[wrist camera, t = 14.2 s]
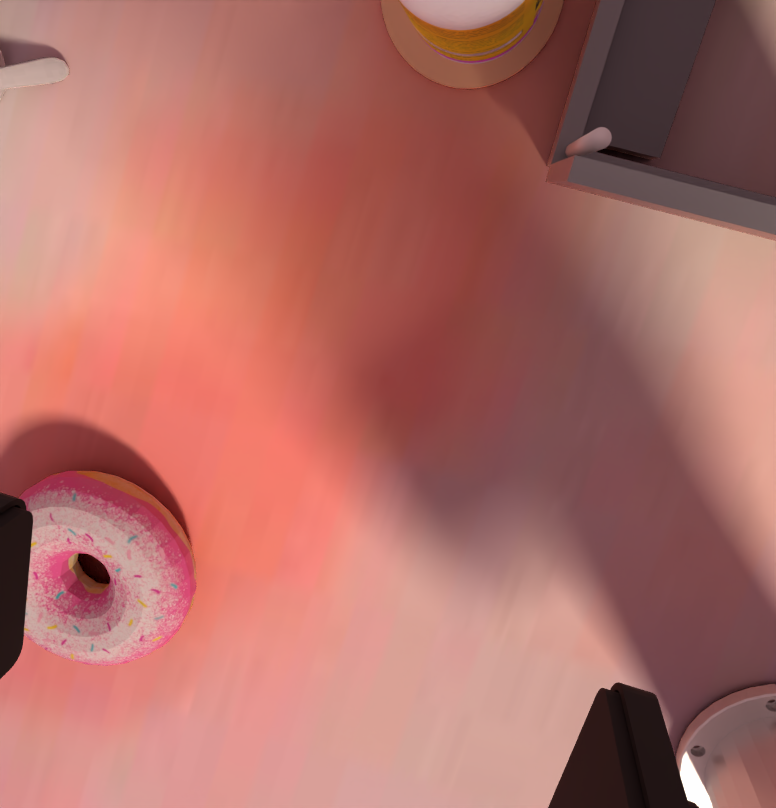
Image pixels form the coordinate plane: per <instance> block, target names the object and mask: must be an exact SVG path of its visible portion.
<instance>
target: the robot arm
mask: <svg viewBox="0 0 776 808" xmlns="http://www.w3.org/2000/svg"><path fill="white" fill-rule="evenodd" d="M32 529H33V515H32V513H31V512H30V511H27V510H26V504H25V502H24V501H23V500H22V499H19V498H16V497H13V496H10V495H6V494H3V493H0V679H1V678H2V677H3V676H4V675H5V674H6V673H7V672H8V671H9V670H10V669H11V668H12V666H13V665H14V664H15V662H16V661H17V659H18V657H19V655H20V653H21V650H22V646H23V637H24V625H25V613H26V601H27V589H28V577H29V565H30V553H31V541H32ZM548 808H776V684H768V685H762V686H756V687H750V688H747V689H744V690H741V691H738V692H735V693H732V694H730V695H728V696H726V697H724V698H722V699H720V700H718V701H716V702H714V703H713V704H711V705H710V706H709V707H708V708H706V709H705V710H704V711H702V712H701V713H700V714H699V715H698V716H697V717H696V718H695V719H694V720H693V721H692V723H691V724H690V725H689V726H688V728H687V729H686V731H685V733H684V735H683V736H682V738H681V740H680V743H679V747H678V750H677V754H676V759H675V756H674V752H673V749H672V746H671V742H670V739H669V736H668V732H667V729H666V725H665V722H664V719H663V715H662V712H661V709H660V705H659V702H658V699H657V697H656V695H655V694H653V693H651V692H648V691H644V690H641V689H638V688H635V687H631V686H628V685H625V684H622V683H615V684H614V685H613V686H612V688H611V690H608V689H604V688H601V689H600V690H599V691H598V693H597V695H596V697H595V699H594V702H593V704H592V706H591V709H590V711H589V713H588V716H587V718H586V720H585V723H584V725H583V727H582V730H581V732H580V734H579V737H578V739H577V741H576V744H575V746H574V748H573V751H572V753H571V755H570V758H569V760H568V763H567V765H566V767H565V770H564V772H563V774H562V777H561V779H560V781H559V784H558V786H557V788H556V791H555V793H554V795H553V798H552V800H551V802H550V805H549V807H548Z"/></svg>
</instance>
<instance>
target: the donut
mask: <svg viewBox="0 0 776 808" xmlns="http://www.w3.org/2000/svg"><path fill="white" fill-rule="evenodd" d="M18 498H19V499H22V500H23V501H24V502H25V504H26V510H27V511H30V512H31V513H32V515H33V529H32V541H31V553H30V565H29V577H28V589H27V601H26V613H25V625H24V635H25V636H27V637H28V638H29V639H30V640H31V641H33V642H34V643H36V644H38V645H39V646H41V647H42V648H44V649H45V650H47V651H49V652H51V653H54V654H56V655H58V656H61V657H63V658H65V659H68V660H72V661H76V662H80V663H84V664H91V665H103V666H108V665H116V664H124V663H127V662H130V661H133V660H136V659H138V658H141V657H144V656H146V655H149V654H151V653H153V652H154V651H156V650H157V649H159V648H160V647H162V646H163V645H165V644H166V643H167V642H168V641H169V640H170V639H171V638H172V637H173V636H174V635H175V633H176V632H177V631H178V630H179V629H180V627H181V625H182V624H183V622H184V621H185V619H186V617H187V615H188V613H189V611H190V609H191V607H192V605H193V600H194V596H195V591H196V567H195V559H194V556H193V552H192V548H191V544H190V542H189V540H188V538H187V536H186V534H185V533H184V531H183V529H182V527H181V525H180V524H179V523H178V522H177V520H176V519H175V518H174V516H173V515H172V514H171V512H170V511H169V510H168V509H167V508H166V507H165V506H163V505H162V504H161V503H160V502H159V501H158V500H157V499H156V498H155V497H154V496H152V495H151V494H149V493H148V492H146V491H145V490H143V489H142V488H140V487H139V486H137V485H136V484H134V483H131V482H129V481H127V480H125V479H123V478H120V477H118V476H115V475H111V474H107V473H103V472H99V471H66V472H62V473H57V474H53V475H50V476H48V477H47V478H45V479H43V480H42V481H40V482H38V483H37V484H35V485H33V486H32V487H30V488H28V489H27V490H25V491H24V492H23V493H22V494H21V495H20V496H19V497H18ZM78 553H84V554H89V555H92V556H93V557H95V558H96V559H98V560H99V561H100V562H101V563H102V564H103V565H105V567H106V570H107V572H108V574H109V576H110V584H103V583H97V582H96V581H94V580H93V579H91V578H90V577H89V576H88V575H87V574H85V573H84V571H83V570H82V568H81V566H80V564H79V562H78V560H77V559H78Z"/></svg>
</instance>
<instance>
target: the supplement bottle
mask: <svg viewBox="0 0 776 808" xmlns="http://www.w3.org/2000/svg"><path fill="white" fill-rule="evenodd" d="M398 1H399V2H400V4H401V5H402V7H403V9H404V10H405V12H406V14H407V16H408V17H409V19H410V21H411V23H412V24H413V26H414V28H415V29H416V31H417V32H418V34H419V36H420V37H421V38H422V39H423V41H424V42H425V43H426V44H427V45H428V46H429V47H430V48H431V49H432V50H433V51H435V52H436V53H437V54H439V55H440V56H442V57H444V58H446V59H448V60H451V61H454V62H458V63H463V64H480V63H486V62H489V61H493V60H495V59H498V58H500V57H502V56H504V55H505V54H507V53H509V52H510V51H512V50H513V49H514V48H515V47H517V46H518V45H519V44H520V43H521V42H522V41H523V40H524V39H525V38H526V36H527V35H528V34H529V32H530V31H531V29H532V28H533V26H534V25H535V23H536V21H537V19H538V17H539V14H540V12H541V9H542V6H543V3H544V0H398Z"/></svg>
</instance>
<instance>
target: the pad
mask: <svg viewBox="0 0 776 808" xmlns="http://www.w3.org/2000/svg"><path fill="white" fill-rule="evenodd" d="M563 1H564V0H544V3H543V6H542V9H541V12H540V14H539V17H538V19H537V21H536V23H535V25H534V26H533V28H532V29H531V31H530V32H529V34H528V35H527V36H526V38H525V39H524V40H523V41H522V42H521V43H520V44H519V45H518V46H517V47H515V48H514V49H513V50H512V51H510V52H509V53H507V54H505V55H504V56H502V57H500V58H498V59H495V60H493V61H489V62H486V63H480V64H463V63H458V62H454V61H451V60H448V59H446V58H444V57H442V56H440V55H439V54H437V53H436V52H435V51H433V50H432V49H431V48H430V47H429V46H428V45H427V44H426V43H425V42H424V41H423V39H422V38H421V37H420V36H419V34H418V32H417V31H416V29H415V28H414V26H413V24H412V23H411V21H410V19H409V17H408V16H407V14H406V12H405V10H404V9H403V7H402V5H401V4H400V2H399V1H398V0H381V8H382V13H383V19H384V22H385V25H386V28H387V31H388V33H389V35H390V38H391V40H392V42H393V44H394V45H395V47H396V48H397V50H398V52H399V53H400V54H401V56H402V57H403V58H404V59H405V60H406V62H407V63H408V64H409V65H410V66H411V67H412V68H414V69H415V70H416V71H417V72H418V73H420V74H421V75H423V76H424V77H426V78H427V79H429V80H431V81H433V82H435V83H438V84H441V85H444V86H447V87H452V88H458V89H475V88H483V87H487V86H491V85H494V84H497V83H499V82H502V81H504V80H506V79H508V78H510V77H511V76H513V75H515V74H516V73H518V72H519V71H520V70H522V69H523V68H524V67H526V66H527V65H528V64H529V63H530V62H531V61H532V60H533V59H534V58H535V57H536V56H537V55H538V53H539V52H540V51H541V50H542V48H543V47H544V46H545V44H546V42H547V41H548V39H549V38H550V36H551V34H552V32H553V30H554V28H555V26H556V24H557V21H558V18H559V16H560V13H561V10H562V6H563Z"/></svg>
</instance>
